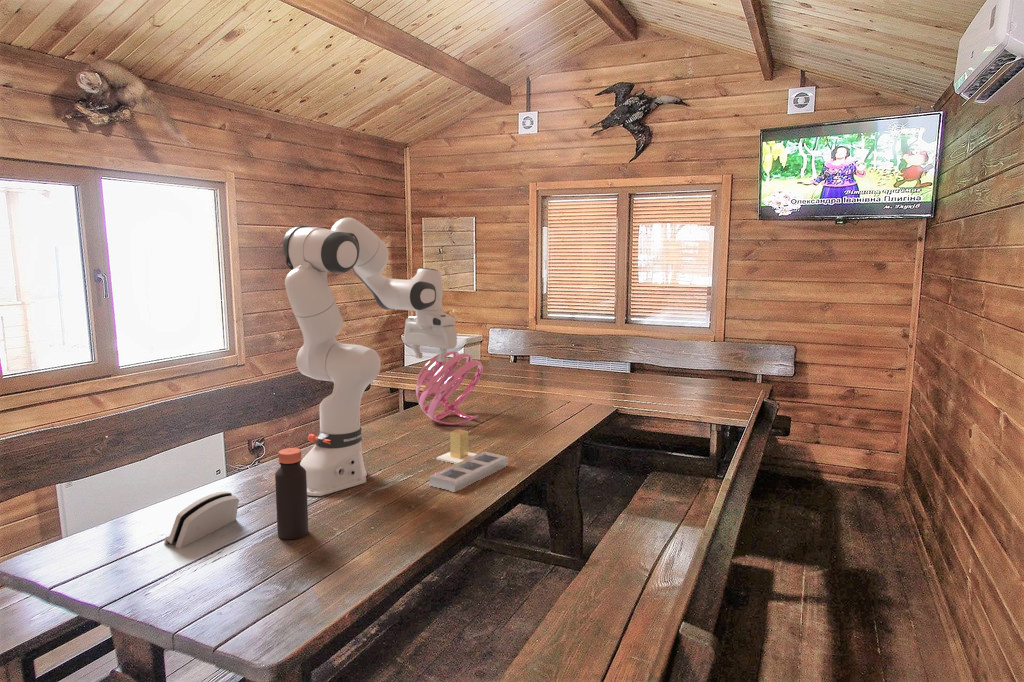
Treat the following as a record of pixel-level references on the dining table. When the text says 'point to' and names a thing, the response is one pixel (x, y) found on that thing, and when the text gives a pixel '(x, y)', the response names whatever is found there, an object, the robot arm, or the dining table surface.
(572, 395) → the dining table surface
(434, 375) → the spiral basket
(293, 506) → the bottle
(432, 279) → the robot arm
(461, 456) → the block
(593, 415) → the dining table surface
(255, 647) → the dining table surface
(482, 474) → the rail
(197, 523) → the napkin holder
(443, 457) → the pad
